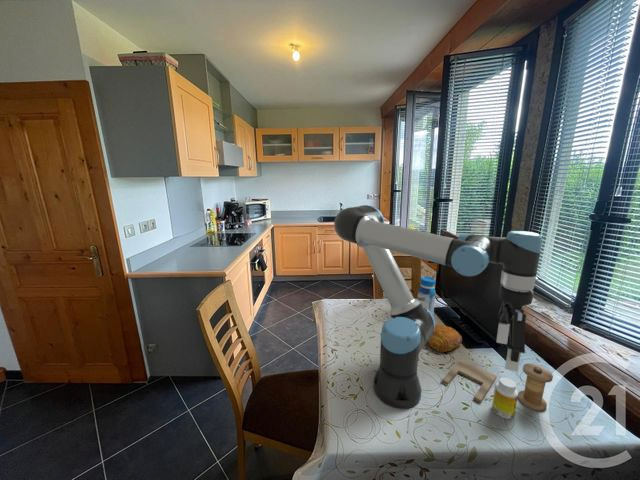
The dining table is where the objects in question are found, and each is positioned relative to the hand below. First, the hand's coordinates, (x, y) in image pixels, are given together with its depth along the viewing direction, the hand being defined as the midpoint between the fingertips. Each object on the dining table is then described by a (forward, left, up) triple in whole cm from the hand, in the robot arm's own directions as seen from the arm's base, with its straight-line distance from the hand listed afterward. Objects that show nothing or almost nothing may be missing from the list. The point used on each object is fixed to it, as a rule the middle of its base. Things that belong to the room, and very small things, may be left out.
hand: (506, 355), depth 78 cm
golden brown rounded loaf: (+20, +26, -18) cm, 38 cm away
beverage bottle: (+37, +42, -18) cm, 59 cm away
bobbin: (+9, -7, -17) cm, 21 cm away
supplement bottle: (-2, -2, -18) cm, 18 cm away
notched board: (+5, +10, -17) cm, 20 cm away
